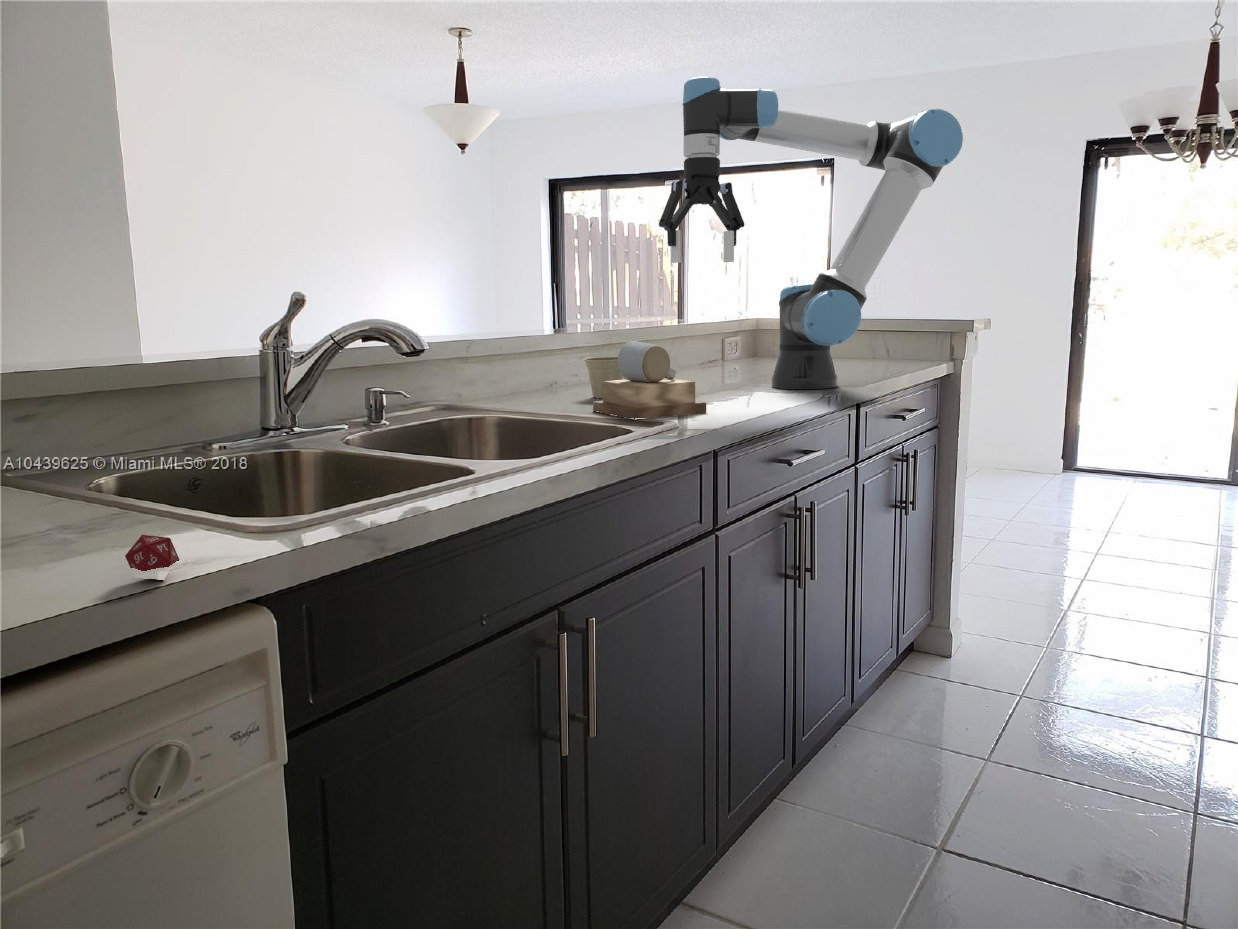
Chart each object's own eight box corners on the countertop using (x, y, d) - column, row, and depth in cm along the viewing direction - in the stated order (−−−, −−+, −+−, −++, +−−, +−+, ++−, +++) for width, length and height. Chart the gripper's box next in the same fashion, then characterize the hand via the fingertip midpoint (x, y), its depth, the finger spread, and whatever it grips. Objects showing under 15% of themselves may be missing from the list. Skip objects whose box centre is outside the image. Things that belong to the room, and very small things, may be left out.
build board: (661, 404, 193) (661, 395, 193) (706, 412, 179) (706, 402, 179) (593, 411, 185) (592, 401, 185) (634, 420, 172) (634, 409, 171)
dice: (154, 589, 79) (149, 543, 79) (118, 583, 81) (112, 538, 80) (191, 576, 83) (186, 532, 82) (155, 571, 85) (150, 528, 84)
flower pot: (578, 399, 207) (577, 359, 205) (595, 394, 215) (594, 356, 214) (617, 400, 203) (616, 360, 202) (633, 395, 212) (632, 356, 210)
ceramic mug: (644, 384, 175) (644, 343, 174) (616, 381, 181) (616, 341, 180) (685, 380, 182) (685, 340, 180) (657, 378, 188) (657, 339, 186)
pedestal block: (659, 396, 191) (658, 376, 190) (695, 402, 180) (695, 381, 179) (603, 401, 184) (602, 381, 184) (637, 408, 173) (636, 386, 173)
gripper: (660, 152, 186) (662, 262, 189) (760, 158, 198) (760, 261, 202) (641, 157, 192) (643, 263, 196) (739, 162, 204) (739, 262, 208)
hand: (702, 262), depth 199 cm, fingers open, 13 cm apart
